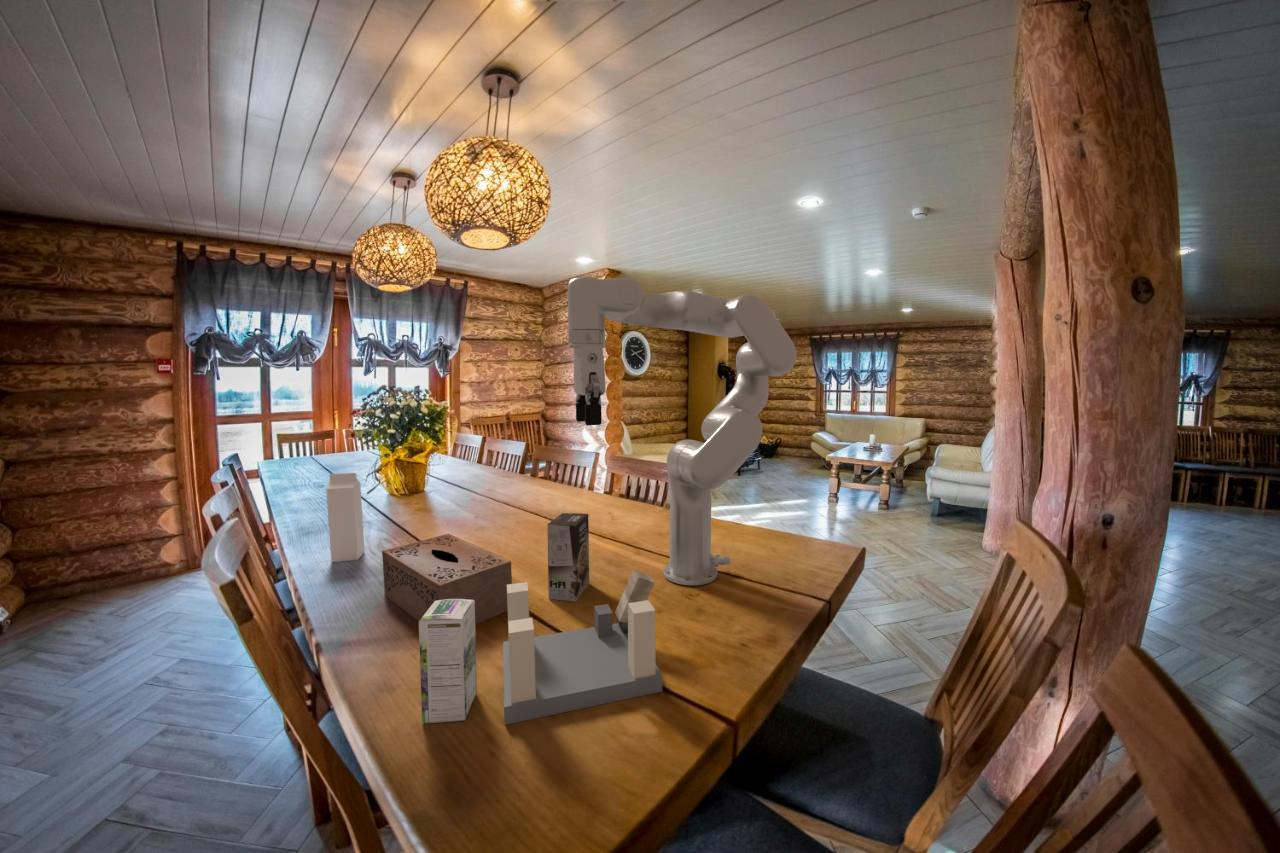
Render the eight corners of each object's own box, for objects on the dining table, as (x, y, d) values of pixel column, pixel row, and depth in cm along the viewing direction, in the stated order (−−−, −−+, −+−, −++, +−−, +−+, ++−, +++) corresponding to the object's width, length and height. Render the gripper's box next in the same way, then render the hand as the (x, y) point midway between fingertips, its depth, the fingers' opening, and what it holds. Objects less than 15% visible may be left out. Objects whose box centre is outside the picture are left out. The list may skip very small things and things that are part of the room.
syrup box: (436, 695, 66) (432, 599, 65) (478, 693, 67) (474, 597, 65) (421, 724, 61) (415, 619, 59) (467, 721, 61) (462, 617, 60)
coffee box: (577, 602, 94) (575, 525, 93) (547, 599, 96) (545, 523, 94) (590, 583, 103) (589, 513, 102) (563, 581, 105) (562, 511, 103)
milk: (357, 560, 117) (352, 475, 115) (330, 562, 116) (324, 476, 114) (365, 551, 123) (360, 470, 121) (339, 554, 122) (333, 471, 119)
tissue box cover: (384, 596, 98) (382, 550, 97) (450, 574, 109) (448, 533, 108) (442, 640, 81) (439, 585, 80) (512, 609, 92) (511, 561, 91)
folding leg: (627, 624, 82) (648, 574, 82) (632, 635, 78) (655, 583, 78) (611, 619, 81) (632, 569, 81) (616, 630, 77) (638, 577, 78)
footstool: (631, 634, 82) (631, 567, 81) (662, 691, 67) (662, 610, 66) (503, 656, 76) (500, 584, 75) (504, 724, 61) (501, 636, 59)
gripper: (615, 337, 88) (616, 426, 90) (595, 344, 104) (596, 419, 106) (576, 335, 86) (578, 427, 87) (562, 343, 102) (563, 420, 104)
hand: (588, 423), depth 97 cm, fingers open, 9 cm apart
